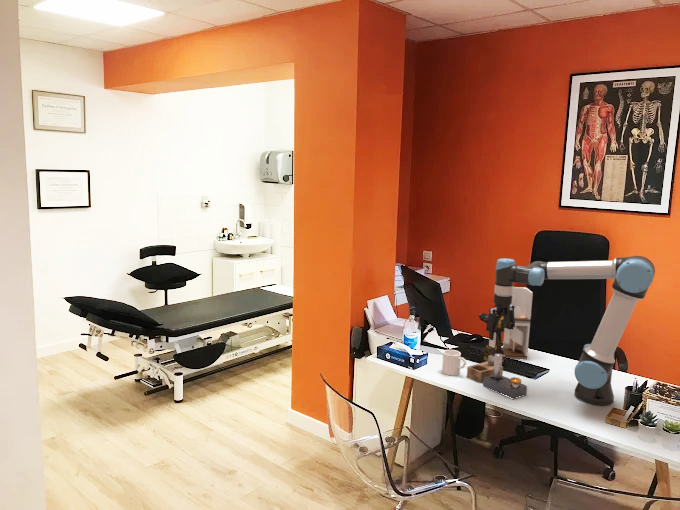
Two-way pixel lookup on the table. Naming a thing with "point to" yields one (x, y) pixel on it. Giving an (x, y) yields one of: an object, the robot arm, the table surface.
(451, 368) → the mug
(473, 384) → the table surface
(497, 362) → the bit
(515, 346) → the display case
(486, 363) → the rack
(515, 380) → the orange mushroom knob
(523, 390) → the socket
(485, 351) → the power drill
